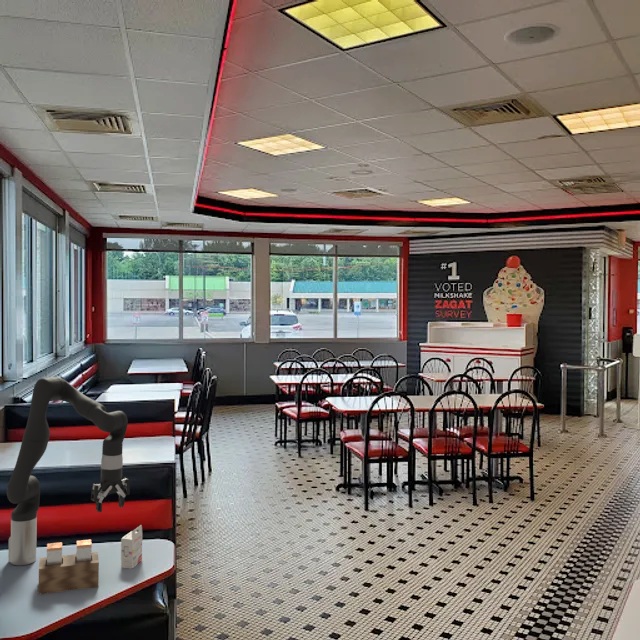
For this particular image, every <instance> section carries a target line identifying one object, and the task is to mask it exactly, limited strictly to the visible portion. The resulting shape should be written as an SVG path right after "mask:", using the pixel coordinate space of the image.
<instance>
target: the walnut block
mask: <svg viewBox="0 0 640 640" xmlns="http://www.w3.org/2000/svg"><path fill="white" fill-rule="evenodd" d="M99 566H100V561H99V553H98V551H95V552H91V561H87V562H77V563H76V554H66V555H62V564H59V565H50V566H47V556H45V557H39V564H38V593H37V594H38V595H42V594H52V593H53V594H54V593H59V592H67V591H69V592H70V591H75V590H83V589H84V590H85V589H92V588H99V582H100V581H99V577H100V575H99V574H100V572H99V571H100V567H99Z"/></svg>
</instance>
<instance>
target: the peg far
mask: <svg viewBox="0 0 640 640" xmlns="http://www.w3.org/2000/svg"><path fill="white" fill-rule="evenodd" d="M92 545H93V544H92V539H83V540H76V563H77V562H87V561H91V553H92Z"/></svg>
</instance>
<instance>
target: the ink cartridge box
mask: <svg viewBox="0 0 640 640" xmlns="http://www.w3.org/2000/svg"><path fill="white" fill-rule="evenodd" d="M120 539H121V540H120V544H121V545H120V547H121V548H120V549H121V550H120V560H121V561H120V568H121V569H128V570H129V569H130V570H131V569H132V570H133V569H134V568H135V567H136V566H137V565H139V563H140V562H142V561H143V526H142V524H140V525H139V526H137V527H136V528H134V529H133V530H131V531H130V532H128V533H127V534H125V535H124V536H122V538H120Z"/></svg>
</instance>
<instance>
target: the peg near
mask: <svg viewBox="0 0 640 640" xmlns="http://www.w3.org/2000/svg"><path fill="white" fill-rule="evenodd" d="M62 556H63V542H52V543H47V544H46V557H47V566H50V565H59V564H62Z"/></svg>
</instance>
